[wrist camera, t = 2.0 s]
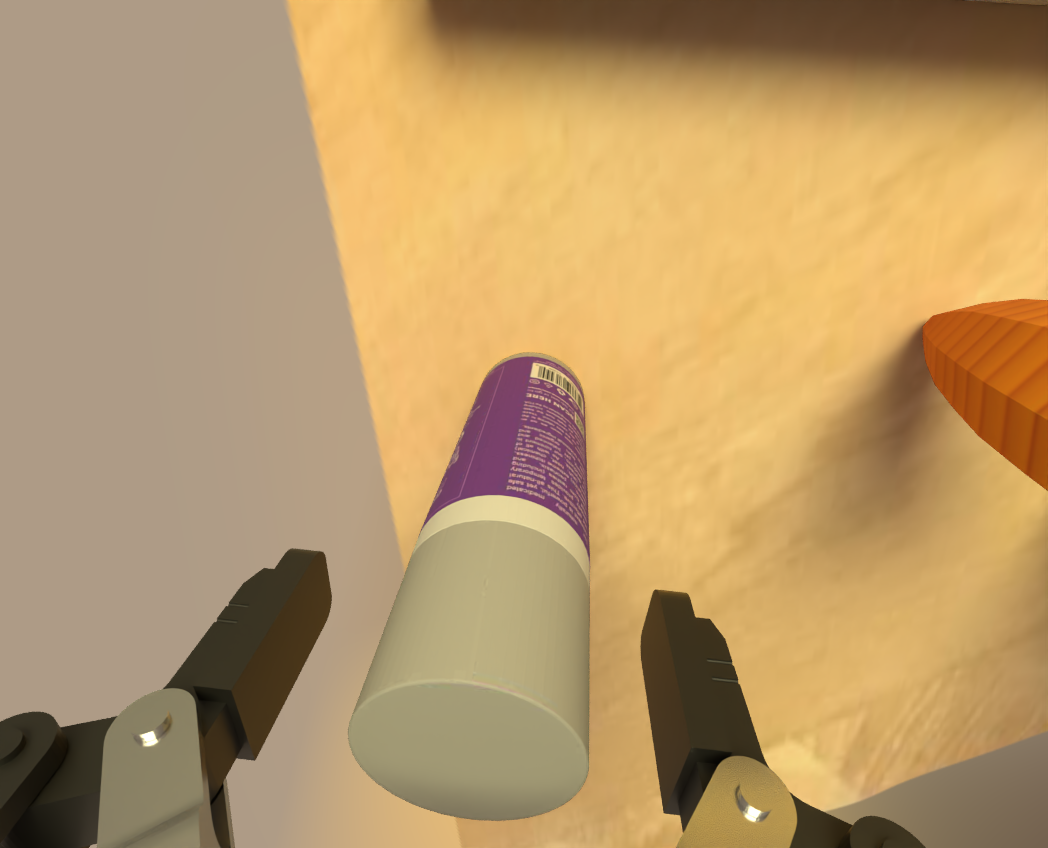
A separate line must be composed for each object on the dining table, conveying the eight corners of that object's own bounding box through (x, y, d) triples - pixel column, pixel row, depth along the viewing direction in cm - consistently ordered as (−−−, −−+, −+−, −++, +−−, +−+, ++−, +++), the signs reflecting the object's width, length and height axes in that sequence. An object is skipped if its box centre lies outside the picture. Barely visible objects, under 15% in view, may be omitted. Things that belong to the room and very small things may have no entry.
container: (466, 364, 22) (295, 687, 9) (572, 341, 21) (564, 664, 8) (495, 454, 24) (395, 827, 11) (593, 437, 23) (617, 822, 10)
